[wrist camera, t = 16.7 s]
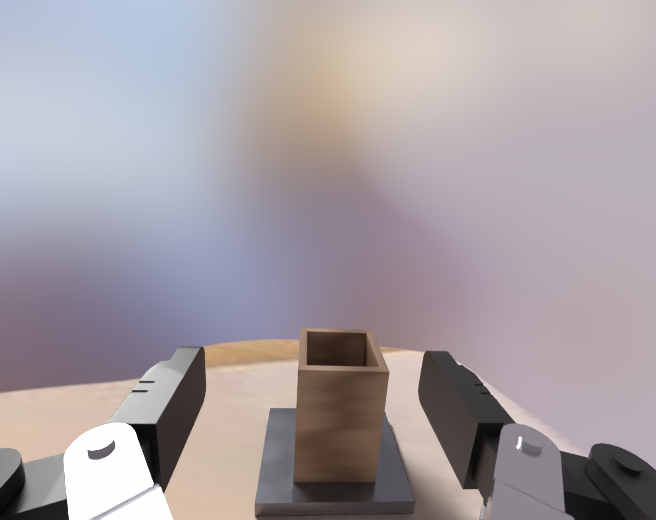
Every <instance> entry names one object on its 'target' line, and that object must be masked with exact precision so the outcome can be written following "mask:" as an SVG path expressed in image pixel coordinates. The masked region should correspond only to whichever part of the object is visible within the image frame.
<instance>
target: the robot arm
mask: <svg viewBox="0 0 656 520" xmlns="http://www.w3.org/2000/svg"><path fill="white" fill-rule="evenodd" d="M205 392H206V373H205V352H204V348H203V347H191V346H180V347H179V348H178V349H177V351H176V352H175V354H174V355H173V356H172V358H171V359H170V361H161V362H159V363H158V364H156V365H155V366H153V367H152V368H150V369H149V370H148V371H147V372H146V373H145V375H144V376H143V377H142V378H141V380H140V382H139V383H138V384H137V385H136V386H135V387H134V389H133V390H132V393H130V394H129V395H128V396H127V398H126V399H125V400H124V401H123V403H122V404H121V405H120V407H119V408H118V409H117V410H116V412H115V413H114V414H113V416H112V417H111V418H110V419H109V421H108V422H107V423H106V425H103V426H100V427H97V428H95V429H93V430H91V431H89V432H87V433H85V434H84V435H82V436H81V437H79V438H78V439H77V440H76V441H75V442H73V443H72V444H71V446H70V447H69V448H68V450H67V452H66V453H63V454H59V455H56V456H52V457H47V458H43V459H39V460H35V461H31V462H27V463H23V462H22V458H21V455H20V453H19V452H18V451H17V450H15V449H11V448H0V520H173V519H172V517H171V514H170V511H169V509H168V506H167V503H166V501H165V498H164V495H163V494H164V492H165V490H166V488H167V485H168V483H169V481H170V478H171V476H172V474H173V471H174V469H175V467H176V464H177V462H178V460H179V458H180V455H181V453H182V451H183V448H184V446H185V444H186V441H187V439H188V437H189V435H190V432H191V430H192V428H193V425H194V423H195V421H196V418H197V416H198V414H199V411H200V409H201V407H202V404H203V402H204V398H205ZM418 394H419V400H420V403H421V406H422V408H423V410H424V412H425V414H426V416H427V418H428V420H429V422H430V424H431V426H432V428H433V430H434V432H435V434H436V436H437V438H438V440H439V442H440V444H441V446H442V448H443V450H444V452H445V454H446V456H447V458H448V460H449V462H450V464H451V466H452V468H453V470H454V472H455V474H456V476H457V478H458V480H459V482H460V484H461V486H462V488H463V489H478V490H479V491H480V493H481V495H482V497H483V503H482V507H481V512H480V518H479V520H656V470H655V469H654V468H653V467H651V466H650V465H649V464H648V463H647V462H645V461H644V460H642V459H641V458H639V457H638V456H636V455H634V454H633V453H631V452H629V451H627V450H625V449H622V448H620V447H617V446H613V445H610V444H603V443H601V444H595V445H593V446H592V448H591V451H590V453H589V456H588V458H587V457H583V456H579V455H575V454H571V453H567V452H563V451H559V449H558V448H557V446H556V445H555V444H554V443H553V442H552V441H551V440H550V439H549V438H548V437H547V436H545V435H544V434H542V433H541V432H539V431H537V430H535V429H533V428H531V427H528V426H526V425H522V424H516V423H515V422H514V420H513V419H512V418H511V417H510V416H509V414H508V413H507V412H506V411H505V410H504V408H503V407H502V406H501V405H500V404H499V402H498V401H497V400H496V399H495V398H494V396H493V395H491V394H490V392H489V390H488V389H487V388H486V387H485V386H483V383H482V382H481V381H480V380H479V378H478V377H477V376H476V375H475V374H474V373H473V372H471V371H470V370H468V369H467V368H465V367H464V366H463V365H458V364H457V363H456V361H455V360H454V359H453V358H452V356H451V355H450V354H449V353H448V352H447V351H426V352H425V354H424V357H423V363H422V369H421V375H420V381H419V387H418Z"/></svg>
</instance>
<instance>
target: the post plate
mask: <svg viewBox="0 0 656 520" xmlns="http://www.w3.org/2000/svg"><path fill="white" fill-rule="evenodd" d="M295 430H296V408H270V412H269V419H268V425H267V431H266V437H265V444H264V450H263V456H262V462H261V469H260V475H259V481H258V487H257V494H256V500H255V516H290V515H349V514H409V513H413V510H414V504H415V500H414V497H413V494H412V491H411V488H410V485H409V482H408V479H407V476H406V473H405V470H404V467H403V464H402V461H401V458H400V455H399V452H398V449H397V446H396V443H395V440H394V437H393V434H392V431H391V429H390V426H389V423H388V420H387V417H386V414H385V411H384V419H383V427H382V435H381V443H380V451H379V459H378V467H377V475H376V482H293V473H294V451H295Z"/></svg>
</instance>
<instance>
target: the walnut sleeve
mask: <svg viewBox="0 0 656 520" xmlns="http://www.w3.org/2000/svg"><path fill="white" fill-rule="evenodd" d="M388 378H389V370H388V368H387V365H386V363H385V360H384V358H383V356H382V353H381V351H380V349H379V346H378V344H377V342H376V339H375V337H374V334H373V332H372V330H346V329H314V328H301V329H300V346H299V366H298V387H297V408H296V430H295V451H294V473H293V482H376V475H377V467H378V459H379V451H380V443H381V435H382V427H383V419H384V410H385V402H386V394H387V386H388Z"/></svg>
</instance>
